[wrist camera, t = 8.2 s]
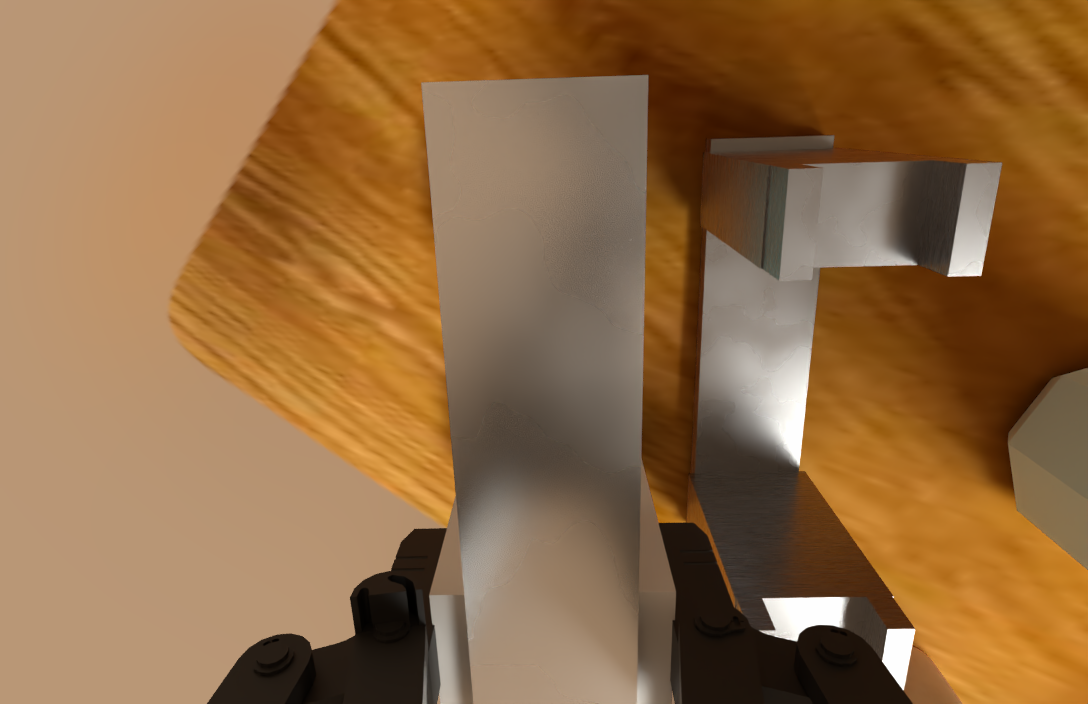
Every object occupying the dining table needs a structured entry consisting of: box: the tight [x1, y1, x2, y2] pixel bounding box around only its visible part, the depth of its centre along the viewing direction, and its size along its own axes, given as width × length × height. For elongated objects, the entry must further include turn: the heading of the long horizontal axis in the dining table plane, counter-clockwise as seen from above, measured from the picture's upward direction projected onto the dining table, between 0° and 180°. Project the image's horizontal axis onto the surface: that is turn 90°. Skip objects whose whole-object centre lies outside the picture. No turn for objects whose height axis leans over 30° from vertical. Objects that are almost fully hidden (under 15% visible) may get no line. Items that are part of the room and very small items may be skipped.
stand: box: [686, 135, 1002, 691], centre depth 26 cm, size 19×6×12 cm, turn 2°
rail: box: [421, 75, 648, 704], centre depth 14 cm, size 20×3×4 cm, turn 2°
